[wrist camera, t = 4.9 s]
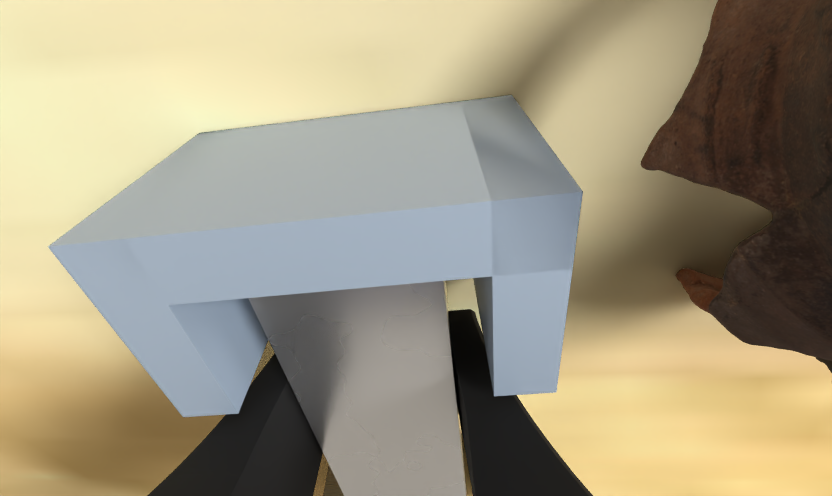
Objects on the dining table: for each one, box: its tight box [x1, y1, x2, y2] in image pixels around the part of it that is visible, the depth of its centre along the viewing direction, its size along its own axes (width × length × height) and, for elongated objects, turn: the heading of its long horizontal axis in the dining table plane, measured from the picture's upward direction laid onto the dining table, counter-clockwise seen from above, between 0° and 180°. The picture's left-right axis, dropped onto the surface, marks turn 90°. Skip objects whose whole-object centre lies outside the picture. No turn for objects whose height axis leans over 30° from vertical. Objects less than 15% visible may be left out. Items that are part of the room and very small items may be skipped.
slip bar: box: [248, 281, 467, 496], centre depth 12 cm, size 12×3×3 cm, turn 7°
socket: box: [48, 95, 583, 417], centre depth 8 cm, size 4×7×4 cm, turn 97°
